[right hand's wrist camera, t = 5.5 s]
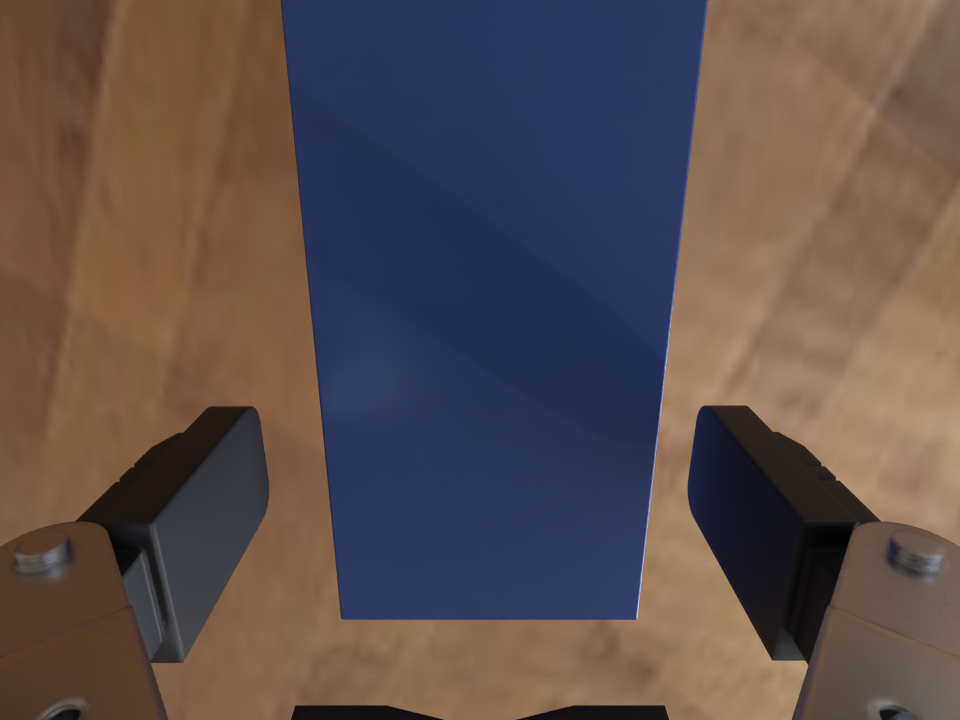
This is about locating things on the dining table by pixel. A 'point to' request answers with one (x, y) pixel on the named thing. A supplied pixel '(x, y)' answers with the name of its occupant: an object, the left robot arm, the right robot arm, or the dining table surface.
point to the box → (491, 291)
